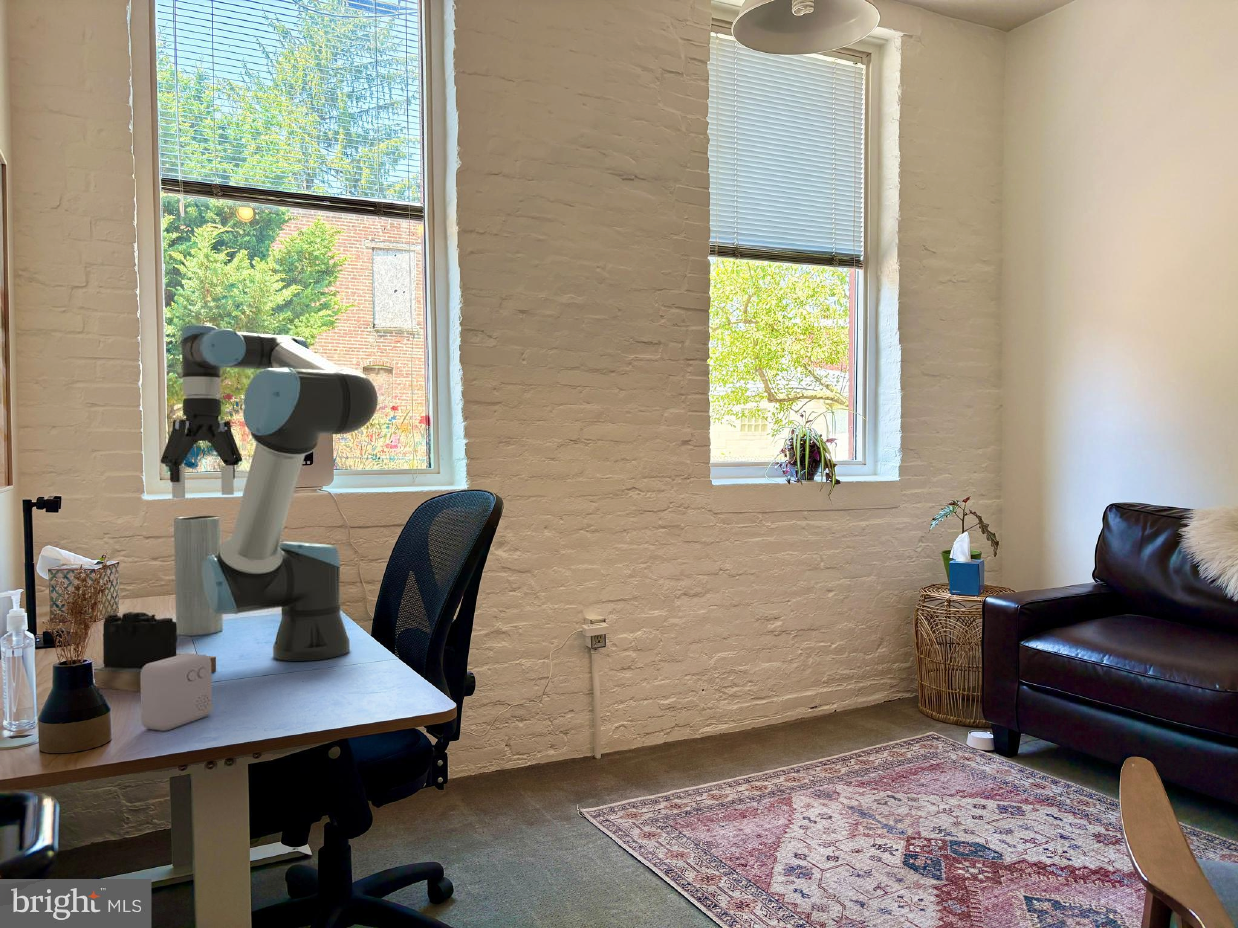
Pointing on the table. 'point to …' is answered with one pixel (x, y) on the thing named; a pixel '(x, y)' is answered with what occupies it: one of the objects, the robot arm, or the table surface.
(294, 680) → the table surface
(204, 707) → the electronic device
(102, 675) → the stand
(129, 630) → the camera
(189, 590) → the vase
